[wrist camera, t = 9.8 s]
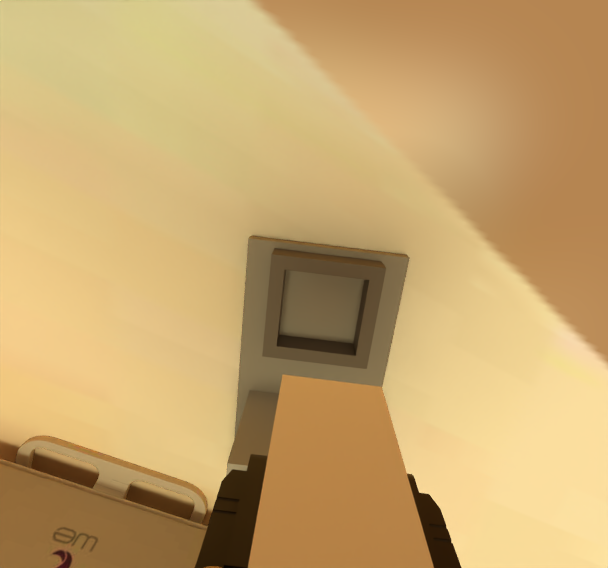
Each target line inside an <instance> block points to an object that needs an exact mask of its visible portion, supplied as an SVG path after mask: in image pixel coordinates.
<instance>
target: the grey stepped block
mask: <svg viewBox="0 0 608 568" xmlns="http://www.w3.org/2000/svg"><path fill="white" fill-rule="evenodd" d="M408 262H409V257H408V256H407V255H403V254H395V253H387V252H378V251H370V250H362V249H354V248H346V247H337V246H329V245H321V244H313V243H305V242H296V241H288V240H280V239H272V238H264V237H256V236H250V237H249V239H248V253H247V268H246V282H245V296H244V311H243V325H242V339H241V354H240V368H239V382H238V397H237V411H236V425H235V440H234V443H233V446H232V450H231V453H230V456H229V459H228V463H227V475H228V474H229V472H230V471H231V470H232V469H235V470H243V471H247V467H248V463H249V459H250V455H251V454H256V455H264V456H268V453H269V447H270V442H271V436H272V431H273V425H274V420H275V414H276V409H277V403H278V397H279V392H280V386H281V381H282V375H291V376H299V377H307V378H315V379H323V380H331V381H339V382H347V383H355V384H363V385H371V386H379V387H382V385H383V380H384V376H385V371H386V366H387V362H388V357H389V352H390V347H391V343H392V338H393V333H394V328H395V324H396V319H397V314H398V310H399V305H400V300H401V295H402V291H403V286H404V281H405V277H406V272H407V267H408Z"/></svg>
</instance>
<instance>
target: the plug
mask: <svg viewBox="0 0 608 568" xmlns="http://www.w3.org/2000/svg"><path fill="white" fill-rule="evenodd" d="M248 568H434V566H433V563H432V559H431V556H430V552H429V549H428V546H427V542H426V539H425V535H424V532H423V528H422V525H421V521H420V518H419V514H418V511H417V507H416V504H415V501H414V497H413V494H412V490H411V487H410V483H409V480H408V476H407V473H406V469H405V466H404V462H403V459H402V456H401V452H400V449H399V445H398V442H397V438H396V435H395V431H394V428H393V424H392V421H391V417H390V414H389V411H388V407H387V404H386V400H385V397H384V393H383V390H382V387H379V386H371V385H363V384H355V383H347V382H339V381H331V380H323V379H315V378H307V377H299V376H291V375H282V381H281V386H280V392H279V397H278V403H277V409H276V414H275V420H274V425H273V431H272V436H271V442H270V447H269V453H268V458H267V464H266V470H265V475H264V481H263V486H262V492H261V497H260V503H259V508H258V514H257V519H256V525H255V531H254V536H253V542H252V547H251V553H250V558H249V564H248Z"/></svg>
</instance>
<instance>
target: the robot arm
mask: <svg viewBox="0 0 608 568" xmlns="http://www.w3.org/2000/svg"><path fill="white" fill-rule="evenodd" d="M267 458H268V456H264V455H256V454H251V455H250V459H249V463H248V467H247V471H243V470H235V469H232V470H231V471H230V472H229V474H228V475H227V476H226V477H225V478H224V480H223V481H222V483H221V486H220V489H219V492H218V495H217V500H216V502H215V505H214V508H213V513H212V515H211V518H210V521H209V524H208V527H207V531H206V534H205V537H204V540H203V543H202V547H201V550H200V553H199V556H198V559H197V562H196V565H195V567H194V568H248V564H249V558H250V553H251V547H252V542H253V536H254V531H255V525H256V519H257V514H258V508H259V503H260V497H261V492H262V486H263V481H264V475H265V470H266V464H267ZM407 476H408V480H409V483H410V487H411V490H412V494H413V497H414V501H415V504H416V507H417V511H418V514H419V518H420V521H421V525H422V528H423V532H424V535H425V539H426V542H427V546H428V549H429V552H430V556H431V559H432V563H433V566H434V568H461V566H460V563H459V560H458V557H457V554H456V552H455V549H454V546H453V543H451V538H450V535H449V532H448V529H446V524H445V521H444V518H443V515H442V512H441V510H440V508H439V507H438V506H437V504H436V503H435V502H434V500H433V499H432V498H431V496H430V495H429V494H424V493H419V491H418V488H417V485H416V482H415V479H414V476H413V475H412V474H407Z"/></svg>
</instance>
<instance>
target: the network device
mask: <svg viewBox="0 0 608 568" xmlns="http://www.w3.org/2000/svg"><path fill="white" fill-rule="evenodd" d="M36 448H44V449H47V450H50V451H53V452H56V453H59V454H62V455H65V456H68V457H71V458H74V459H77V460H80V461H83V462H86V463H89V464H92V465H93V466H95V467H96V468H97V470H98V472H99V477H98V480H97V482H96V483H95V485H94V486H93V488H89V487H86V486H83V485H80V484H77V483H74V482H71V481H68V480H65V479H62V478H59V477H56V476H53V475H50V474H46V473H43V472H40V471H37V470H34V469H31V465H32V460H33V456H34V451H35V449H36ZM134 481H143V482H146V483H150V484H153V485H156V486H159V487H162V488H165V489H168V490H171V491H174V492H177V493H180V494H183V495H186V496H188V497H190V498H191V499H192V500H193V502H194V504H195V507H194V510H193V512H192V514H191V517H190V519H189V520H187V519H184V518H181V517H178V516H175V515H172V514H169V513H166V512H163V511H160V510H157V509H154V508H150V507H147V506H144V505H141V504H138V503H135V502H132V501H129V500H126V496H127V493H128V490H129V487H130V484H131V483H132V482H134ZM206 510H207V500H206V497H205V496H204V494H203V492H202V491H201V490H200V489H199V488H197V487H196V486H194V485H193V484H190V483H188V482H185V481H183V480H180V479H177V478H174V477H171V476H168V475H165V474H162V473H159V472H156V471H153V470H150V469H147V468H144V467H141V466H138V465H135V464H132V463H129V462H126V461H123V460H120V459H117V458H114V457H111V456H108V455H105V454H102V453H99V452H96V451H93V450H90V449H87V448H84V447H81V446H78V445H75V444H72V443H69V442H66V441H63V440H60V439H57V438H54V437H50V436H36V437H33V438H31V439H29V440H28V441H26V442H25V443H24V444H23V445H22V446H21V447H20V448H19V450H18V452H17V455H16V459H15V463H13V462H10V461H7V460H4V459H1V458H0V568H194V567H195V565H196V562H197V559H198V556H199V553H200V550H201V547H202V543H203V540H204V537H205V534H206V531H207V527H208V526H206V525H202V521H203V519H204V517H205V514H206Z"/></svg>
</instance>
